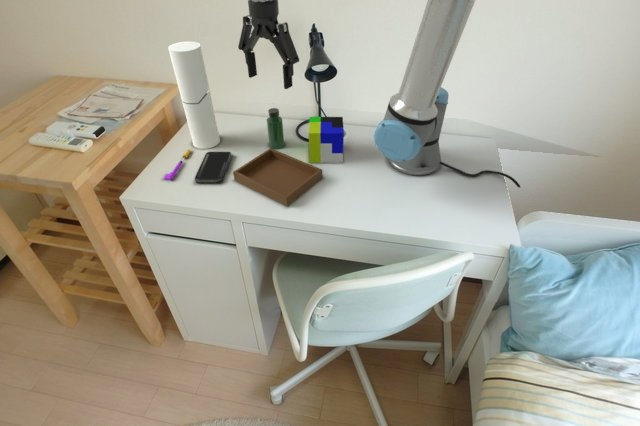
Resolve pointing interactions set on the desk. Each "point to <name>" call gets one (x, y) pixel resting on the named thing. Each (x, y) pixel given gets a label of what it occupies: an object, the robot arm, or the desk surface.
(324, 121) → the puzzle toy
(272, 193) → the tray
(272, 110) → the spice bottle
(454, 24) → the robot arm
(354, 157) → the desk surface
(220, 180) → the phone
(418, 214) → the desk surface
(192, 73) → the container
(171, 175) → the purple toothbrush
